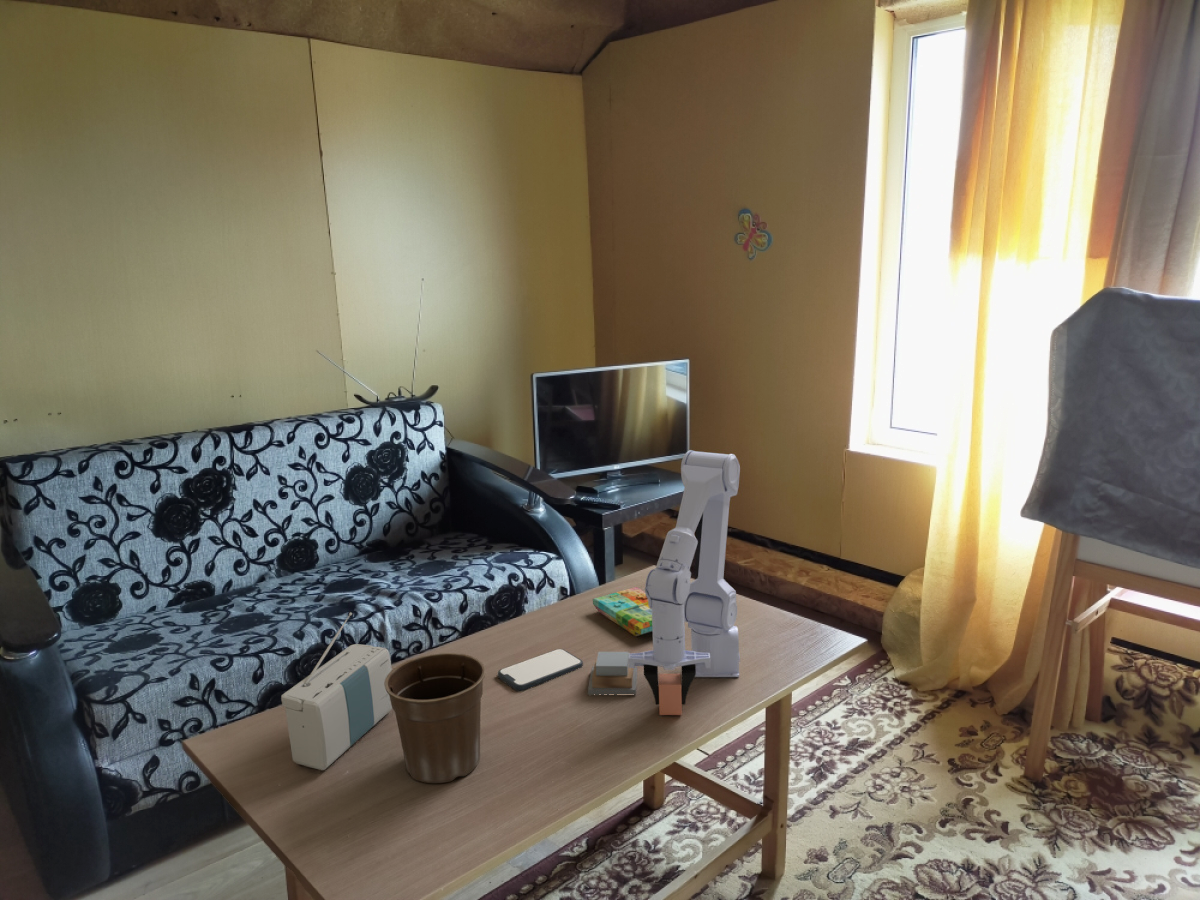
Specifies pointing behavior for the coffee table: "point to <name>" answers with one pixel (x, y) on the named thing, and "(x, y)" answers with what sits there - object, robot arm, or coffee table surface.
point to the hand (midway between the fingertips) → (670, 701)
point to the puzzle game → (627, 610)
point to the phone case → (539, 669)
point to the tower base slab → (613, 690)
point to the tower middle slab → (612, 680)
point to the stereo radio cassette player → (337, 703)
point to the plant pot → (438, 714)
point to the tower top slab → (612, 664)
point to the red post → (670, 694)
